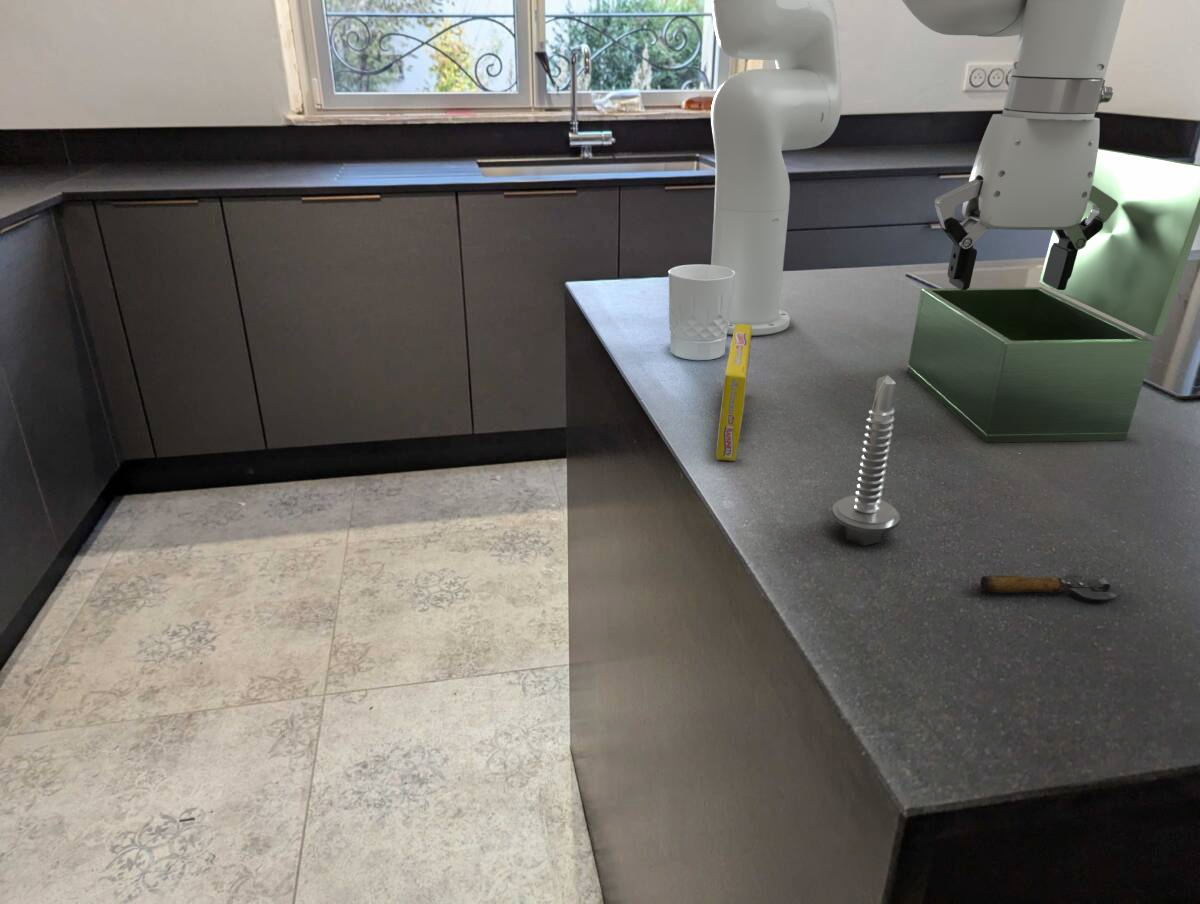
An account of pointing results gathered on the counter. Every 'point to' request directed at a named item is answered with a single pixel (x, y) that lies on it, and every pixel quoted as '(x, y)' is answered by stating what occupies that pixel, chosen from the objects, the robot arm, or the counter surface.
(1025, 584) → the can opener
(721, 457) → the candy box
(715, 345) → the white cup
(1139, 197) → the bin lid
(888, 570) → the counter surface
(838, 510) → the screw
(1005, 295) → the bin
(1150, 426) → the counter surface
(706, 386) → the counter surface
